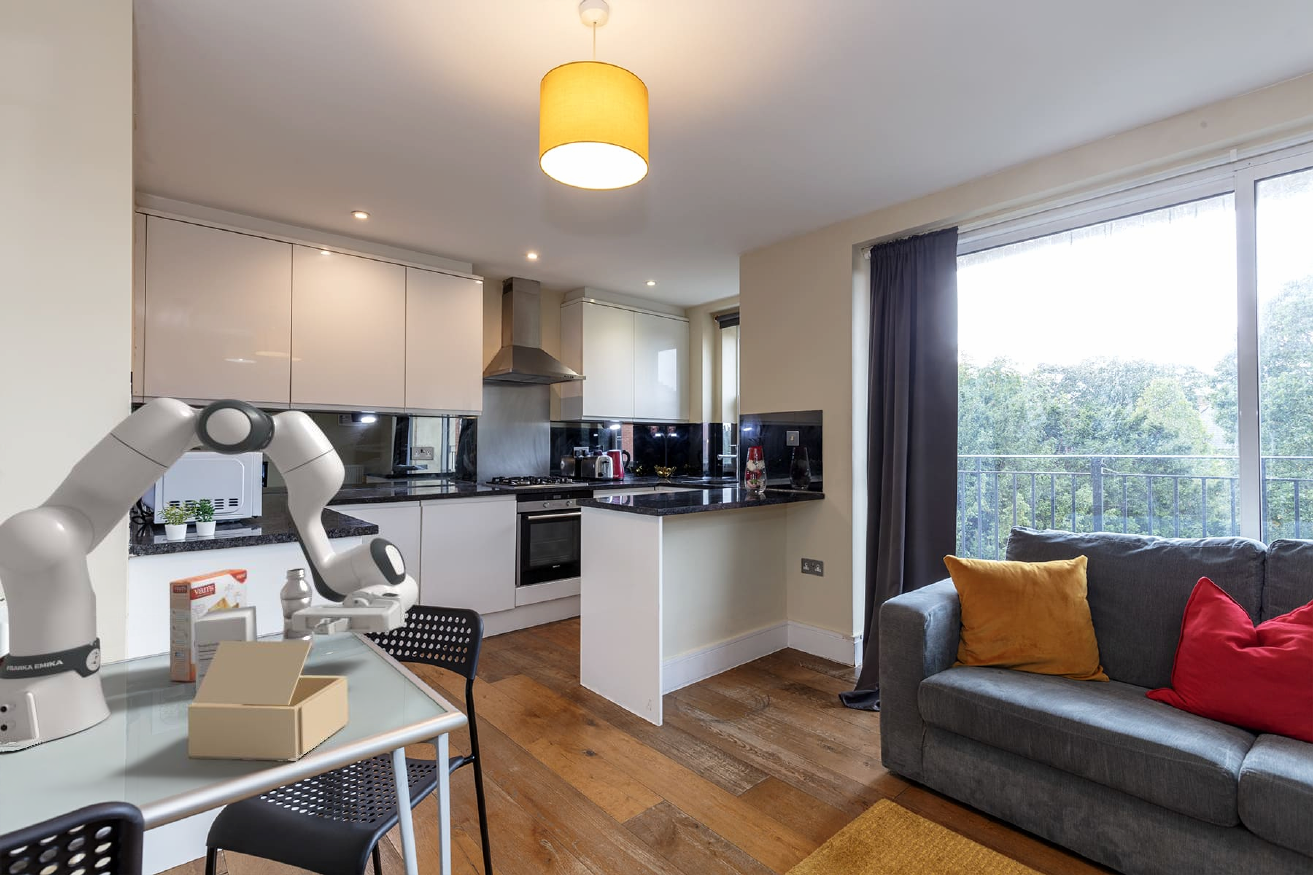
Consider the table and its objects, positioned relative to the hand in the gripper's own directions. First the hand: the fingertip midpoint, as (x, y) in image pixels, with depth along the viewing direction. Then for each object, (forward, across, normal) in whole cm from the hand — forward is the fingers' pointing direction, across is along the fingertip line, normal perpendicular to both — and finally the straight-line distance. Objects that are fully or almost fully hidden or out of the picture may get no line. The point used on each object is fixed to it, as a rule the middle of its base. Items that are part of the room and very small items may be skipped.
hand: (321, 630), depth 114 cm
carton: (+13, 0, +14) cm, 19 cm away
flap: (+20, 0, +6) cm, 20 cm away
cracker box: (-17, -38, +14) cm, 44 cm away
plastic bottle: (-26, -25, +14) cm, 39 cm away
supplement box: (-8, -27, +14) cm, 31 cm away
